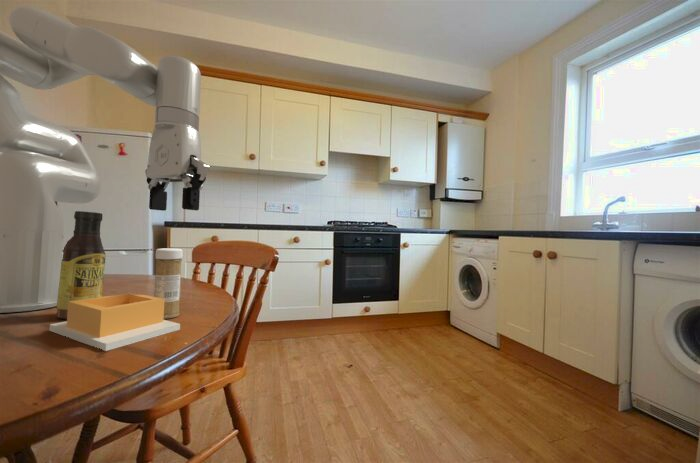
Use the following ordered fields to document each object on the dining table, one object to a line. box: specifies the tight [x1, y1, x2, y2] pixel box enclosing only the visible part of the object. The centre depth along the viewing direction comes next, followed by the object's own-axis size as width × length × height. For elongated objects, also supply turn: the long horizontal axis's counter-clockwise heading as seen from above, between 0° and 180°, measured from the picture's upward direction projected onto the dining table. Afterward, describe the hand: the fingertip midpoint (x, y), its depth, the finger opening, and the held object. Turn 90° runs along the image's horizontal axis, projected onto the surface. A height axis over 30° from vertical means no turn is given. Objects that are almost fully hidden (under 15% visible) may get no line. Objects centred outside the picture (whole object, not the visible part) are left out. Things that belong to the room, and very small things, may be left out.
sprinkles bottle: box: [153, 247, 184, 320], centre depth 58 cm, size 5×5×13 cm
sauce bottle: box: [56, 210, 107, 320], centre depth 56 cm, size 7×6×20 cm
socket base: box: [49, 291, 181, 352], centre depth 49 cm, size 16×11×5 cm
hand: (173, 209), depth 58 cm, fingers open, 9 cm apart
